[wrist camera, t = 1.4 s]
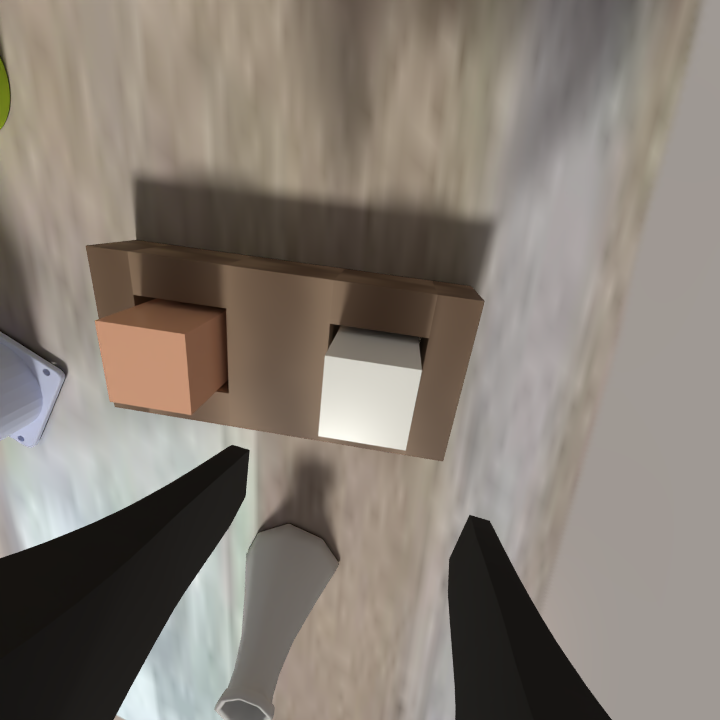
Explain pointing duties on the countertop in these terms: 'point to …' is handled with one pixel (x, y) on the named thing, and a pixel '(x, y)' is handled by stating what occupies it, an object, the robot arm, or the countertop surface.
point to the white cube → (370, 387)
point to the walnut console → (297, 331)
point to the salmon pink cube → (164, 354)
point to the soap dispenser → (4, 95)
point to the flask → (273, 614)
